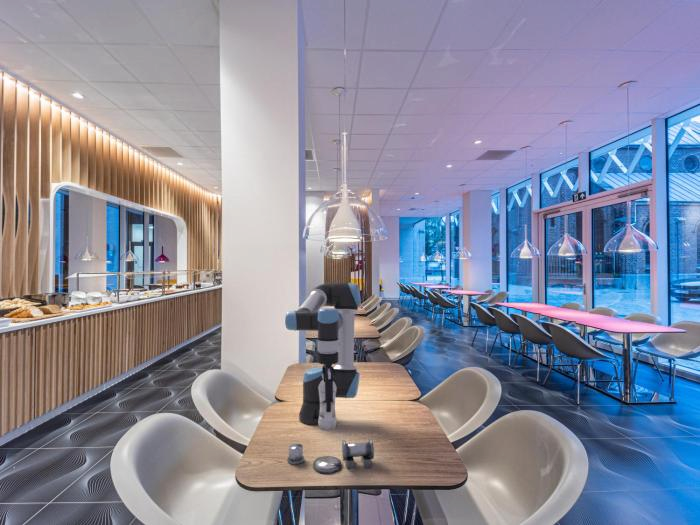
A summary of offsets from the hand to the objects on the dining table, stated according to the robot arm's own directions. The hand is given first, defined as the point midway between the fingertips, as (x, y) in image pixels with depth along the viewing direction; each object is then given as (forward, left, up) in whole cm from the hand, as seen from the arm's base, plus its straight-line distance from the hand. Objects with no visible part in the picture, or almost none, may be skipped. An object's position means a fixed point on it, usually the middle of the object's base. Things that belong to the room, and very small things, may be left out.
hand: (327, 416), depth 129 cm
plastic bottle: (0, 0, -5) cm, 5 cm away
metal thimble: (-12, -3, -17) cm, 21 cm away
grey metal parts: (+4, +4, -17) cm, 18 cm away
